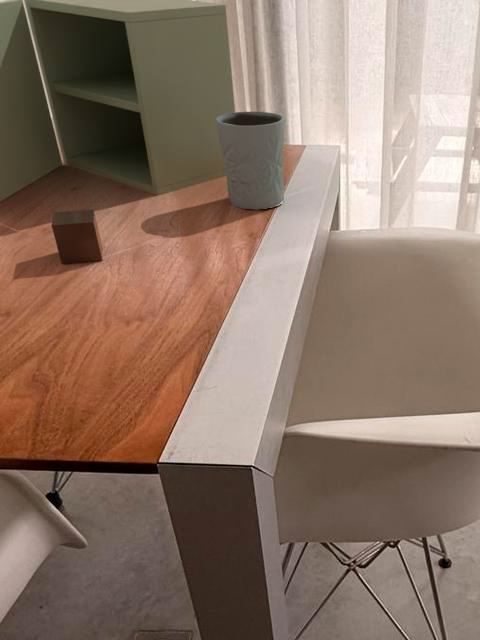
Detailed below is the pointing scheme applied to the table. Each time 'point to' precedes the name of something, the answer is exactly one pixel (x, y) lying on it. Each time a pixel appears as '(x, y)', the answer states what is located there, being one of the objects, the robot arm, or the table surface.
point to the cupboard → (137, 87)
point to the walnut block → (77, 236)
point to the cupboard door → (22, 107)
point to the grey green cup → (253, 158)
